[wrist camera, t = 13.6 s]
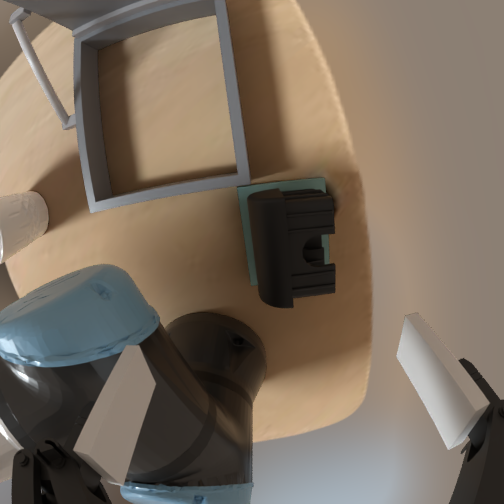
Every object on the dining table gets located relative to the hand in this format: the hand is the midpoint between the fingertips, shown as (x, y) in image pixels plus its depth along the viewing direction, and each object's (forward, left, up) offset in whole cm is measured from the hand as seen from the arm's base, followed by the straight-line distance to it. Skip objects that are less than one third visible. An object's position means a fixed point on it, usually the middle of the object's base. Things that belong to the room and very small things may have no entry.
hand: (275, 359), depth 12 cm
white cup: (+8, +31, -20) cm, 38 cm away
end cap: (0, -2, -18) cm, 19 cm away
